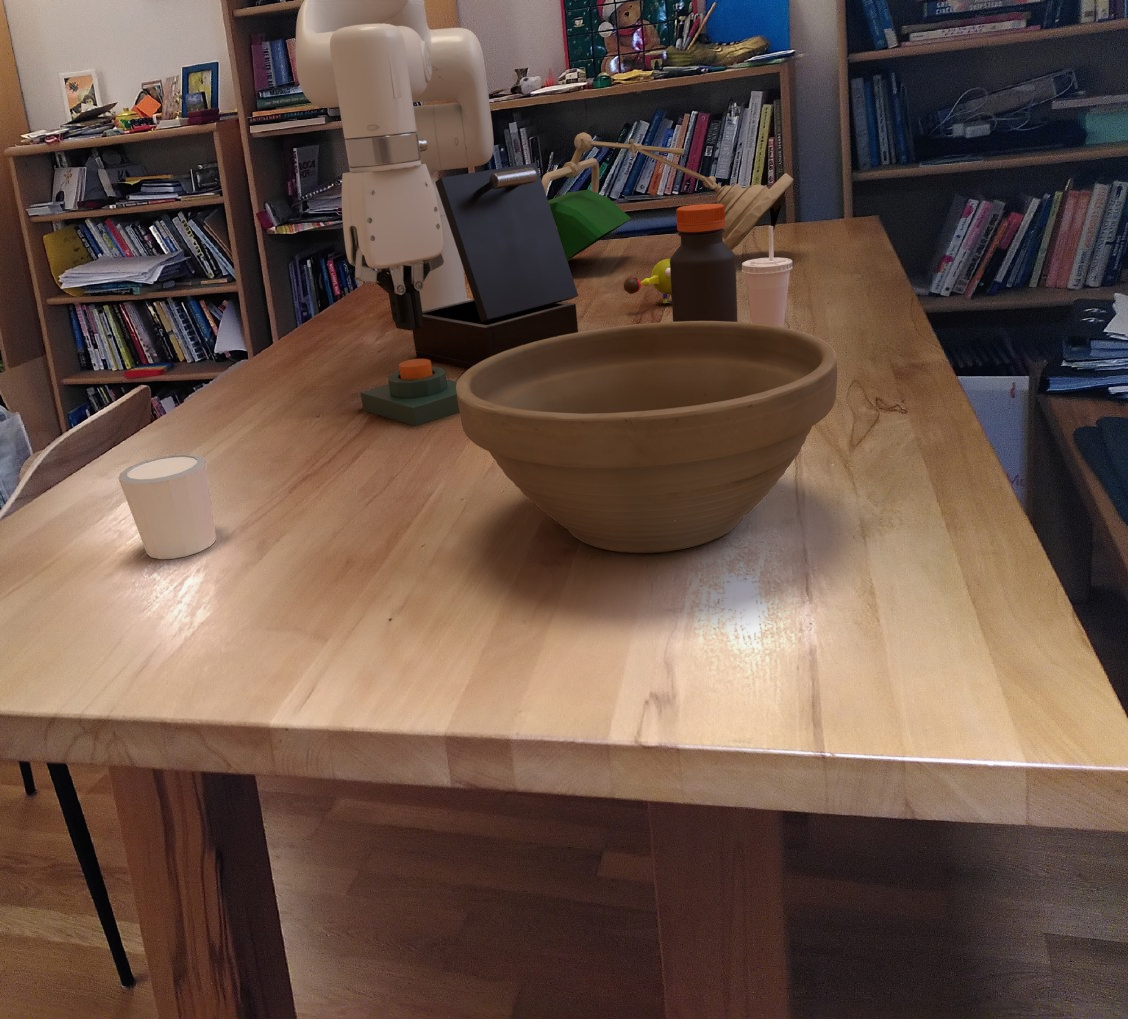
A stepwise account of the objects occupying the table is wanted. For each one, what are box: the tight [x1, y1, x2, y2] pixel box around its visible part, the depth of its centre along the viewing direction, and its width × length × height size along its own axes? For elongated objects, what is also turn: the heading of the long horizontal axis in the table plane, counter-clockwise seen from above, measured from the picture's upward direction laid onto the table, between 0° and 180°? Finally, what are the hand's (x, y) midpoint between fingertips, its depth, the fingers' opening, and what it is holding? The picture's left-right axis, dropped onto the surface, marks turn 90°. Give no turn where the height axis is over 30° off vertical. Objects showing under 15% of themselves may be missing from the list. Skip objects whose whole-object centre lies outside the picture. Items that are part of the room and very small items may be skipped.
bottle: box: [669, 203, 739, 322], centre depth 110 cm, size 7×7×20 cm
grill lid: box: [435, 162, 579, 322], centre depth 130 cm, size 18×15×6 cm
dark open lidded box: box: [411, 298, 579, 370], centre depth 140 cm, size 17×15×6 cm
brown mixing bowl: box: [456, 321, 838, 554], centre depth 81 cm, size 28×28×13 cm
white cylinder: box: [118, 453, 217, 560], centre depth 86 cm, size 7×7×7 cm
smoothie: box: [741, 225, 793, 328], centre depth 133 cm, size 6×6×14 cm
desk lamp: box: [541, 132, 794, 262], centre depth 191 cm, size 35×42×39 cm
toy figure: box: [623, 258, 672, 306], centre depth 160 cm, size 18×6×7 cm, turn 131°
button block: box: [359, 366, 460, 427], centre depth 119 cm, size 11×9×4 cm
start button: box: [398, 358, 433, 380], centre depth 118 cm, size 4×4×2 cm
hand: (409, 327), depth 116 cm, fingers closed
